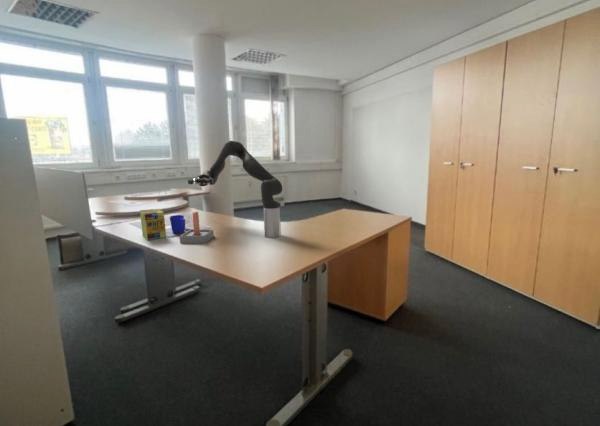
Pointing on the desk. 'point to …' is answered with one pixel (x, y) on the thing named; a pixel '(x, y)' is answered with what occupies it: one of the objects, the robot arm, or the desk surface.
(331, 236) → the desk surface
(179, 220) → the mug
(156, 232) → the protein box
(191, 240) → the grey square hole base
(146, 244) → the desk surface
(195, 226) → the peg
